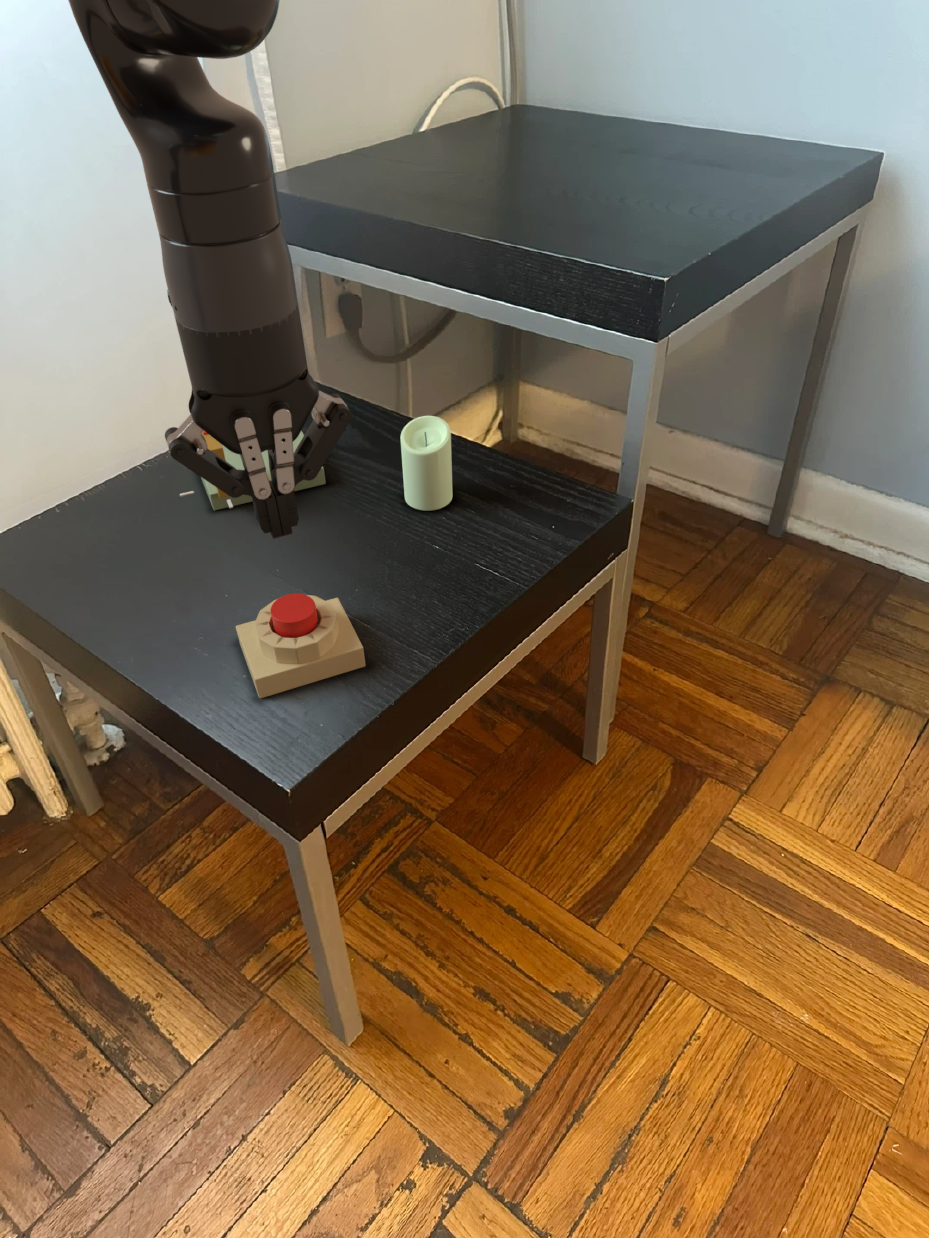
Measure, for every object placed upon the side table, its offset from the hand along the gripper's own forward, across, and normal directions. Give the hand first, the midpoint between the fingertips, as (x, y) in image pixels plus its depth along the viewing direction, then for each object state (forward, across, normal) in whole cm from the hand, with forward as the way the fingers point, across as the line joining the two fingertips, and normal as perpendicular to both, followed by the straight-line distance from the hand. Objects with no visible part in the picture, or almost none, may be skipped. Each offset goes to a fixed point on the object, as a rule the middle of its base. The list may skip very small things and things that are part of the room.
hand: (280, 530), depth 66 cm
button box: (+13, 0, 0) cm, 13 cm away
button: (+10, 0, 0) cm, 10 cm away
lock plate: (+13, +2, +28) cm, 31 cm away
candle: (+13, +18, +18) cm, 29 cm away
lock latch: (+11, -1, +26) cm, 28 cm away
